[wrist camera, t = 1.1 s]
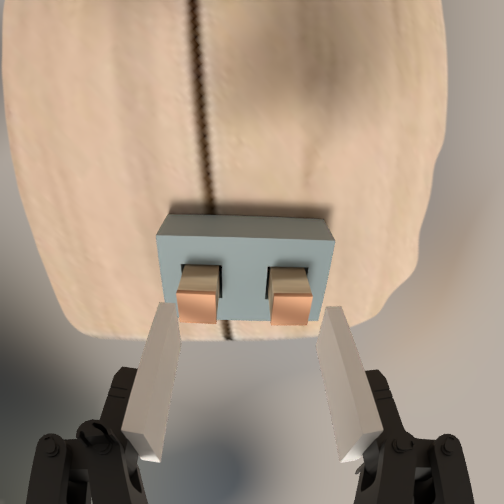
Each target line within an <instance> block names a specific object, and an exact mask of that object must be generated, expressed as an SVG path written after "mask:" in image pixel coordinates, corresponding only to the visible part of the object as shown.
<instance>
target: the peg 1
mask: <svg viewBox="0 0 504 504" xmlns="http://www.w3.org/2000/svg"><path fill="white" fill-rule="evenodd" d="M219 292H220V281H219V265H201V264H185V266H184V269H183V273H182V276H181V279H180V283H179V286H178V289H177V292H176V297H177V304H178V312H179V319H180V322H186V323H206V324H216V322H217V310H218V301H219Z"/></svg>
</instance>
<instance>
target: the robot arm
mask: <svg viewBox="0 0 504 504" xmlns="http://www.w3.org/2000/svg"><path fill="white" fill-rule="evenodd" d="M180 349H181V338H180V331H179V325H178V318H177V311H176V304H175V303H164V302H159V305H158V308H157V311H156V314H155V317H154V320H153V323H152V326H151V329H150V332H149V335H148V338H147V341H146V344H145V348H144V351H143V354H142V357H141V361H140V364H139V367H138V369H136V368H128V367H121V369H120V370H119V371H118V372H117V373H116V374H115V375H114V378H113V381H112V384H111V388H110V390H109V393H108V397H107V399H106V402H105V405H104V408H103V411H102V414H101V418H100V420H93V419H92V420H89V421H85V422H84V423H83V424H81V425H80V426H79V428H78V430H77V433H76V438H77V439H69V440H63V439H62V438H61V437H60V436H58V435H56V434H46V435H44V436H43V437H42V438H40V439H39V442H38V444H37V447H36V452H35V456H34V461H33V466H32V471H31V476H30V481H29V487H28V494H27V501H26V504H91V496H92V501H93V504H148V502H147V499H146V495H145V491H144V487H143V483H142V479H141V474H140V470H139V467H138V465H137V460H138V455H139V456H140V458H141V459H142V460H147V461H154V462H161V456H162V450H163V443H164V437H165V431H166V425H167V419H168V413H169V407H170V402H171V396H172V390H173V385H174V380H175V375H176V369H177V364H178V359H179V354H180ZM316 350H317V355H318V359H319V364H320V368H321V372H322V377H323V382H324V386H325V391H326V396H327V400H328V405H329V410H330V414H331V420H332V425H333V429H334V435H335V440H336V444H337V450H338V455H339V461H340V462H347V461H353V460H358V459H359V458H360V457H361V456H362V455H363V458H364V463H363V464H362V465H361V466H360V467H359V468H358V469H357V470H356V473H355V474H358V473H359V472H360V476H359V481H358V486H357V491H356V496H355V500H354V504H474V499H473V493H472V488H471V483H470V479H469V474H468V471H467V466H466V462H465V458H464V454H463V451H462V447H461V444H460V441H459V440H458V439H457V438H456V437H455V436H454V435H451V434H443V435H441V436H439V437H438V438H437V439H436V440H427V439H417V438H414V437H413V436H412V435H411V434H410V433H408V432H406V431H405V429H404V427H403V425H402V422H401V419H400V416H399V413H398V410H397V408H396V405H395V402H394V399H393V398H392V394H391V391H390V390H389V385H388V383H387V380H386V378H385V377H384V376H383V375H382V374H381V372H380V371H379V370H369V371H365V370H364V368H363V365H362V362H361V359H360V356H359V353H358V350H357V347H356V345H355V342H354V339H353V336H352V334H351V331H350V328H349V325H348V323H347V320H346V317H345V315H344V312H343V309H342V307H341V306H337V307H326V309H325V313H324V317H323V321H322V325H321V328H320V332H319V336H318V340H317V344H316Z"/></svg>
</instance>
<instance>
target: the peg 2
mask: <svg viewBox="0 0 504 504" xmlns="http://www.w3.org/2000/svg"><path fill="white" fill-rule="evenodd" d="M268 299H269V309H270V319H271V325H307V323H308V318H309V314H310V309H311V304H312V299H313V295H312V293H311V289H310V286H309V282H308V279H307V276H306V272H305V269H304V267H270V274H269V285H268Z"/></svg>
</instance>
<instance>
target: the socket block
mask: <svg viewBox="0 0 504 504" xmlns="http://www.w3.org/2000/svg"><path fill="white" fill-rule="evenodd" d="M156 241H157V249H158V257H159V265H160V273H161V280H162V287H163V293H164V300H165V303H175V304H176V311H177V318H179V312H178V304H177V297H176V292H177V289H178V286H179V283H180V279H181V276H182V273H183V269H184V266H185V264H201V265H222V271H219V281H220V292H219V301H218V310H217V320H249V321H271V319H270V309H269V299H268V285H269V274H270V273H267V269H268V266H269V267H304V269H305V272H306V276H307V279H308V282H309V286H310V289H311V293H312V295H313V299H312V304H311V309H310V314H309V318H308V321H318V319H319V315H320V310H321V306H322V302H323V298H324V293H325V289H326V284H327V279H328V275H329V270H330V265H331V260H332V255H333V250H334V245H335V239H334V237H333V236H332V234H331V232H330V230H329V228H328V227H327V225H326V223H325V221H324V219H309V218H288V217H264V216H233V215H187V214H168V215H167V217H166V218H165V220H164V222H163V224H162V225H161V227H160V229H159V231H158V232H157V234H156Z"/></svg>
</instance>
